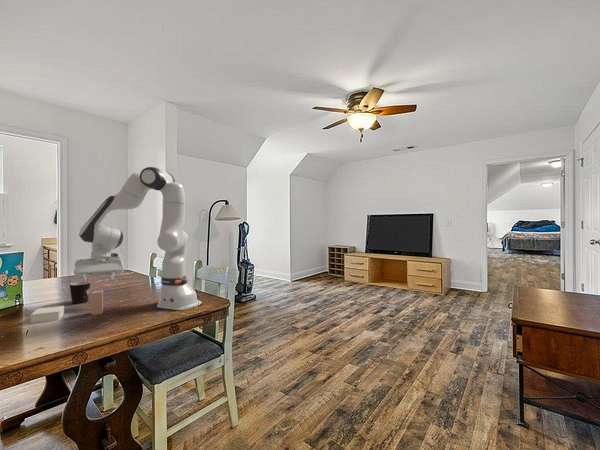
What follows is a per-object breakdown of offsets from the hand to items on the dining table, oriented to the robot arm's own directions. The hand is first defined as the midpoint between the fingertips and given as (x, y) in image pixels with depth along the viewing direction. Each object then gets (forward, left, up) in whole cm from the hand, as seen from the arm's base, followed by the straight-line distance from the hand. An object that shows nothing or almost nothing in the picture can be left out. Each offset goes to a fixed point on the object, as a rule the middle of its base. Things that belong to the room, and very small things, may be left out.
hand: (98, 281), depth 136 cm
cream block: (+5, +18, -14) cm, 23 cm away
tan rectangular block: (-6, +4, -13) cm, 15 cm away
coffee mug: (+19, -2, -14) cm, 23 cm away
